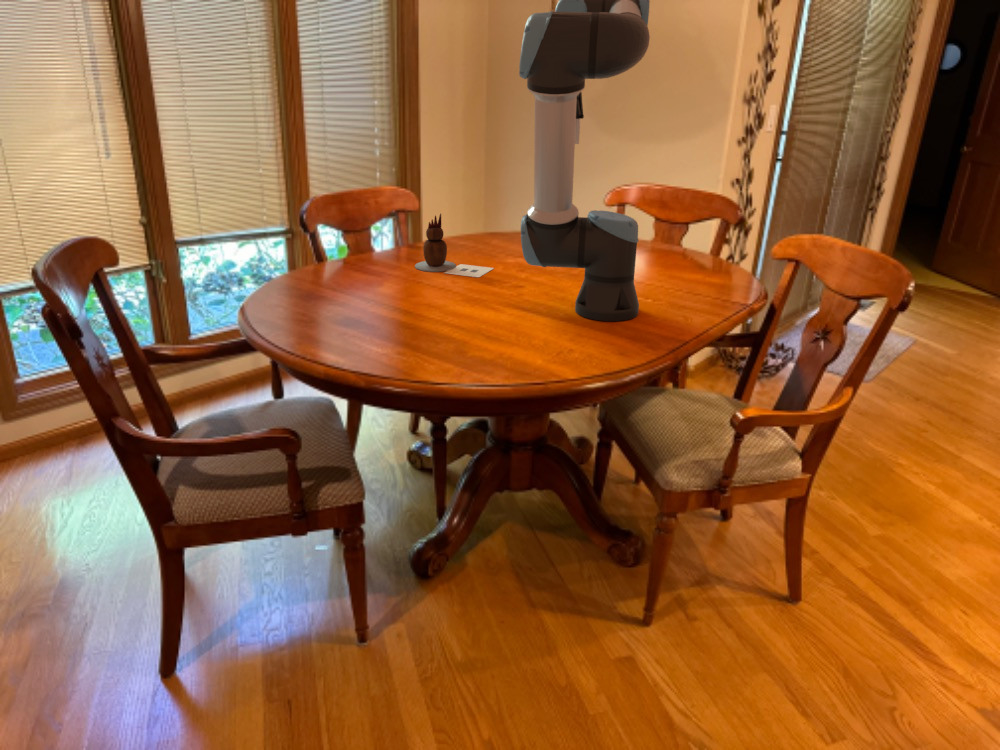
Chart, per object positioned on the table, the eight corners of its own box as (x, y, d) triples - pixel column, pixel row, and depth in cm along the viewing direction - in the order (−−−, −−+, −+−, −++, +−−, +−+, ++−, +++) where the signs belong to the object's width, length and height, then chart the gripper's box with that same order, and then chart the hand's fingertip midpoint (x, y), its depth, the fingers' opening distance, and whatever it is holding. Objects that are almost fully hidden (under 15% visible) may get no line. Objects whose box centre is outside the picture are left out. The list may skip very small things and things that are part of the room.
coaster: (444, 273, 195) (444, 272, 195) (407, 269, 199) (407, 267, 199) (462, 264, 205) (462, 262, 205) (427, 259, 209) (427, 258, 209)
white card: (478, 277, 192) (478, 277, 192) (443, 273, 196) (443, 272, 196) (494, 268, 201) (494, 268, 201) (460, 264, 205) (460, 264, 205)
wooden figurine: (448, 263, 204) (447, 212, 198) (444, 268, 199) (443, 216, 193) (426, 262, 205) (425, 211, 199) (421, 267, 200) (420, 215, 194)
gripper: (570, 58, 166) (565, 150, 174) (597, 60, 187) (592, 142, 195) (541, 58, 168) (538, 148, 177) (571, 60, 189) (567, 141, 198)
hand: (566, 145), depth 186 cm, fingers open, 13 cm apart
